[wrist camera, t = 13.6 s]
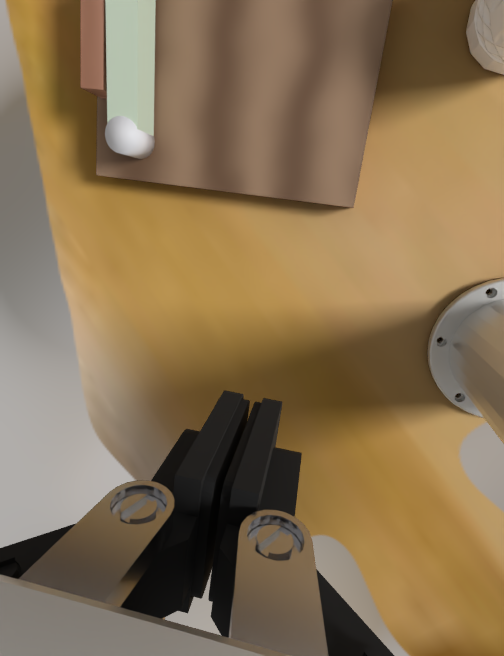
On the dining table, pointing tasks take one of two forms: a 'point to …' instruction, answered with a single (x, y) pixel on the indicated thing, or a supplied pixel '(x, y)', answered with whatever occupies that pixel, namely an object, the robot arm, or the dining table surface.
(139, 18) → the stool leg
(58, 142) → the dining table surface
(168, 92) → the stool seat
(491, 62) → the white cup
